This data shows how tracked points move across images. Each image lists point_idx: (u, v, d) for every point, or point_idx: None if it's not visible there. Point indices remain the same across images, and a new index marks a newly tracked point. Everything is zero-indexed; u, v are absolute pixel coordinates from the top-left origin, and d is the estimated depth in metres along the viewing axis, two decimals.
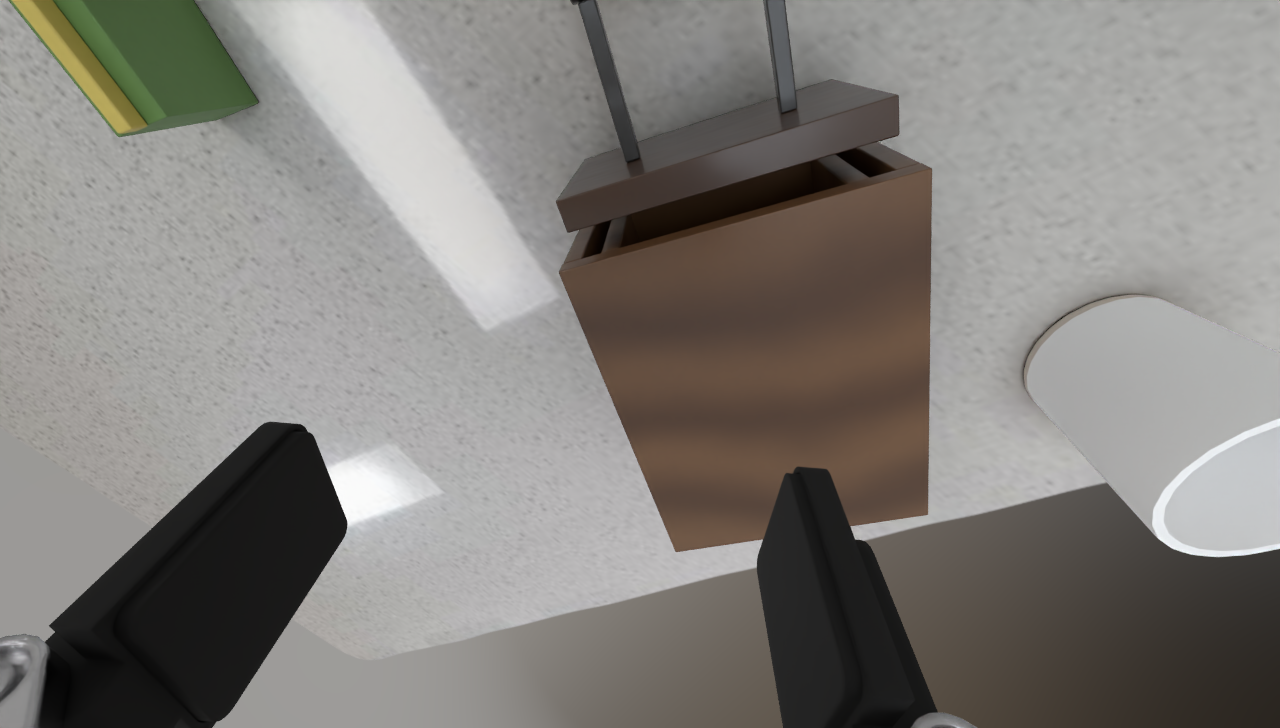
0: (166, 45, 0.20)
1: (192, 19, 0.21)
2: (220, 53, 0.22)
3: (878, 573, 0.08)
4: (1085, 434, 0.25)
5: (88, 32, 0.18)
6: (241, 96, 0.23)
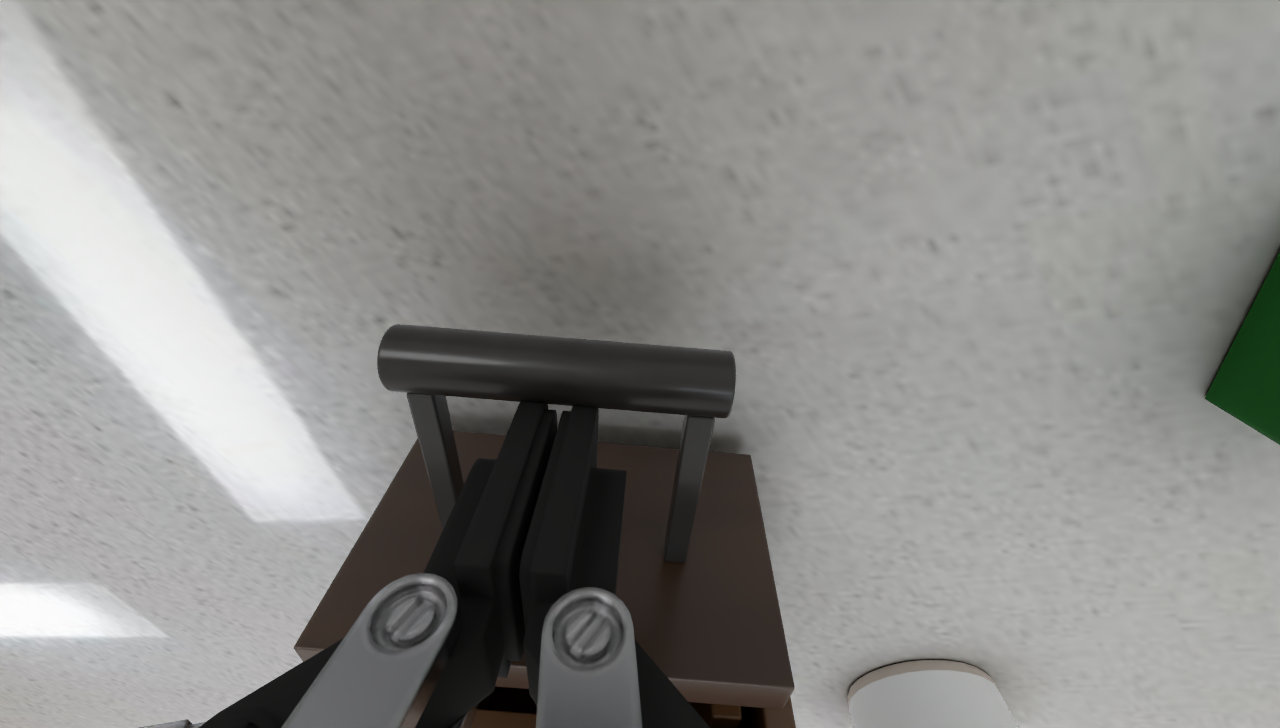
0: None
1: None
2: None
3: (624, 493, 0.09)
4: None
5: None
6: None
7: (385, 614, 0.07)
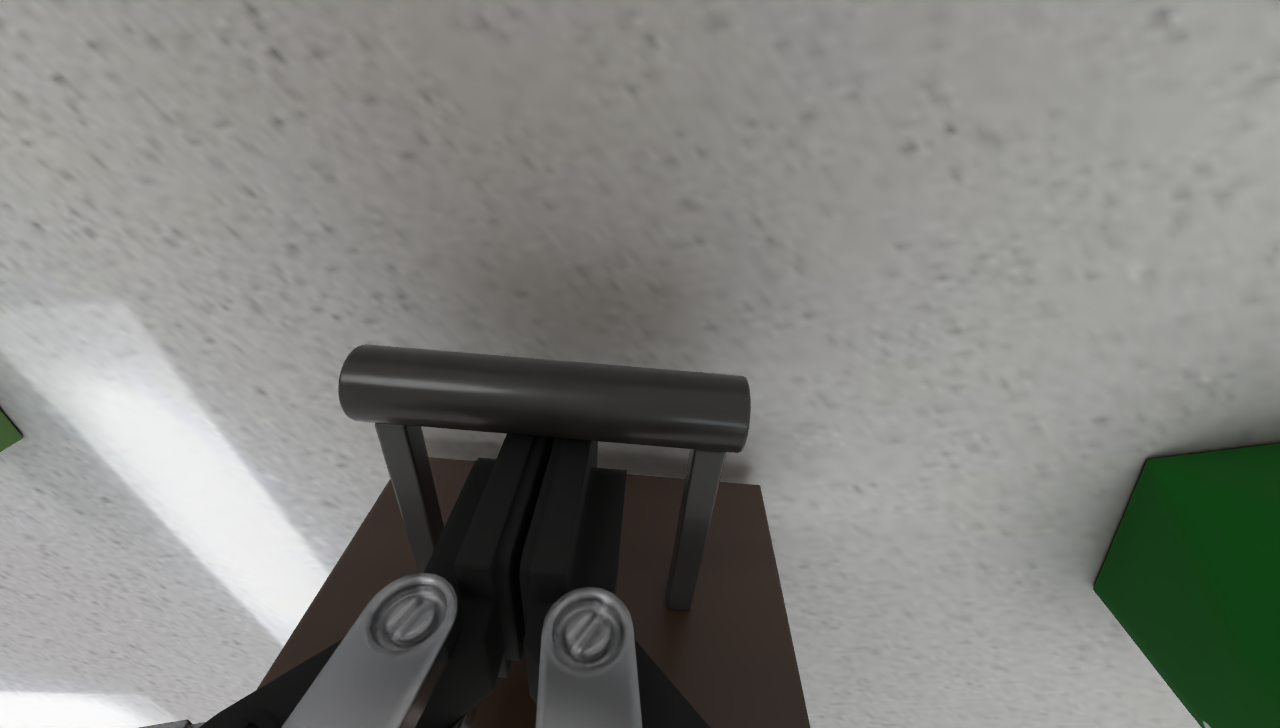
0: None
1: None
2: None
3: (624, 493, 0.09)
4: None
5: None
6: None
7: (385, 614, 0.07)
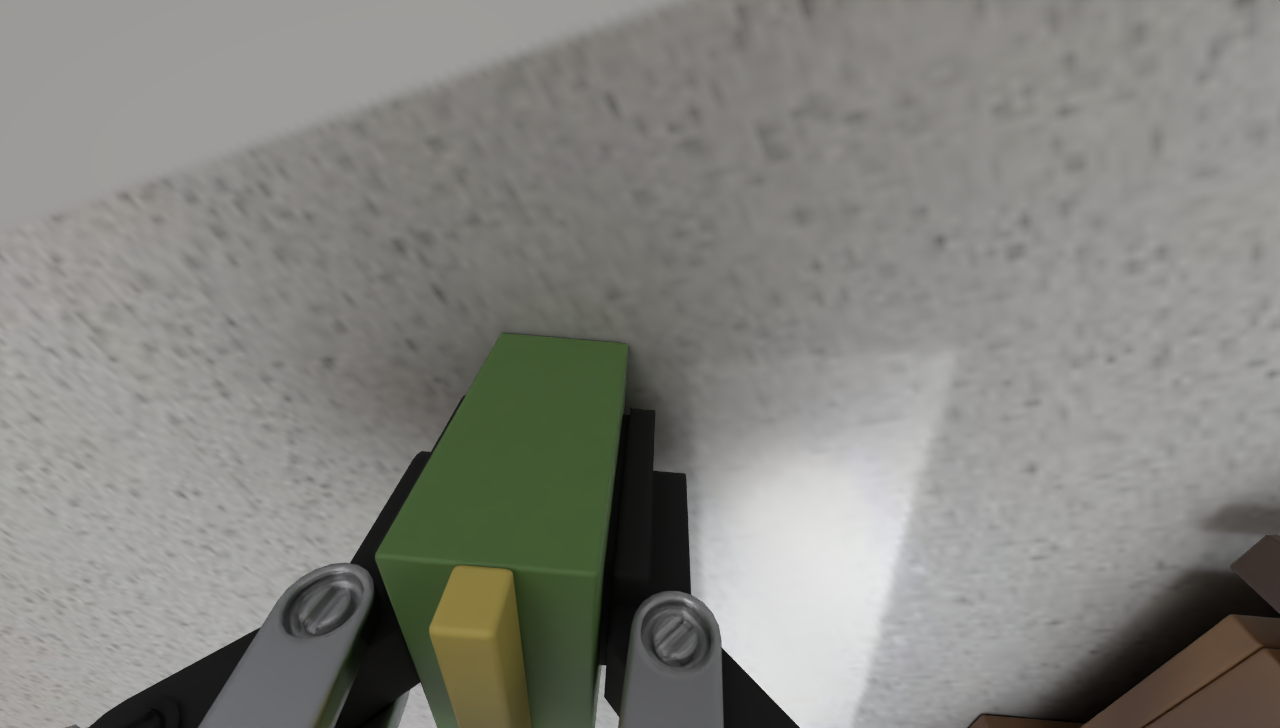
0: None
1: None
2: None
3: (686, 497, 0.09)
4: None
5: (553, 677, 0.07)
6: None
7: (302, 603, 0.07)
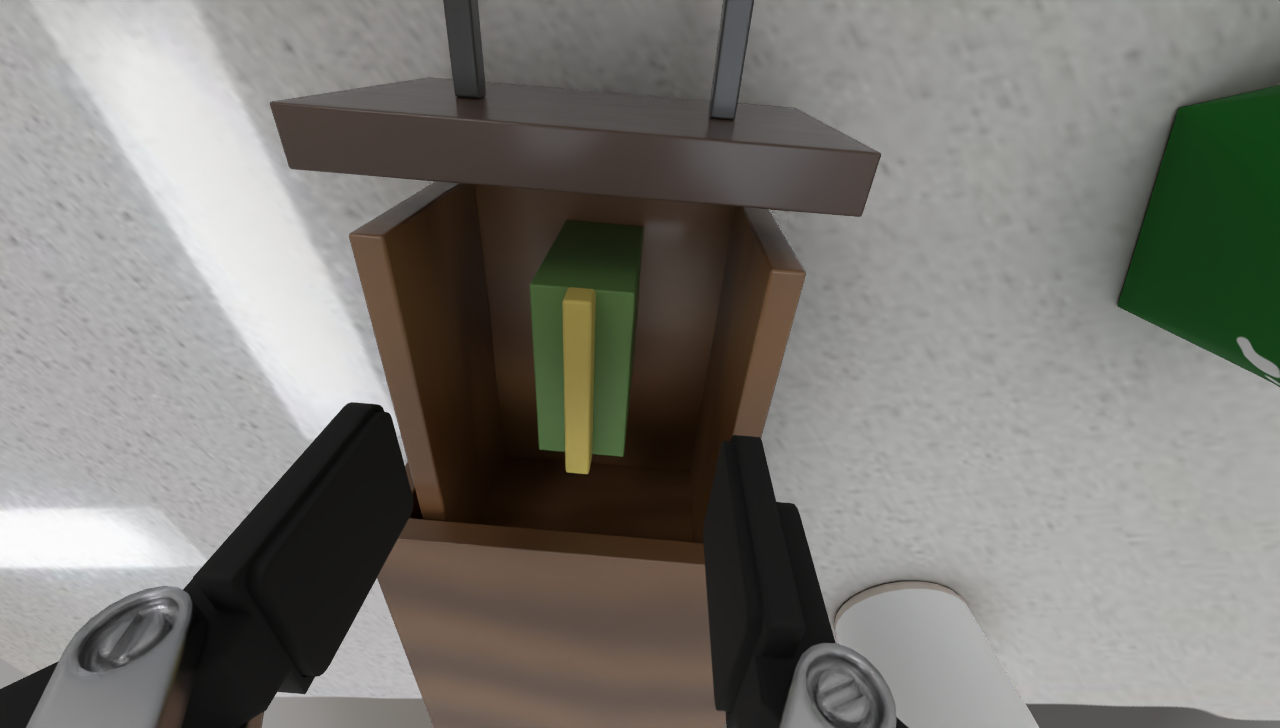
0: None
1: (638, 294, 0.17)
2: (636, 323, 0.18)
3: (802, 530, 0.09)
4: None
5: (608, 374, 0.13)
6: None
7: None
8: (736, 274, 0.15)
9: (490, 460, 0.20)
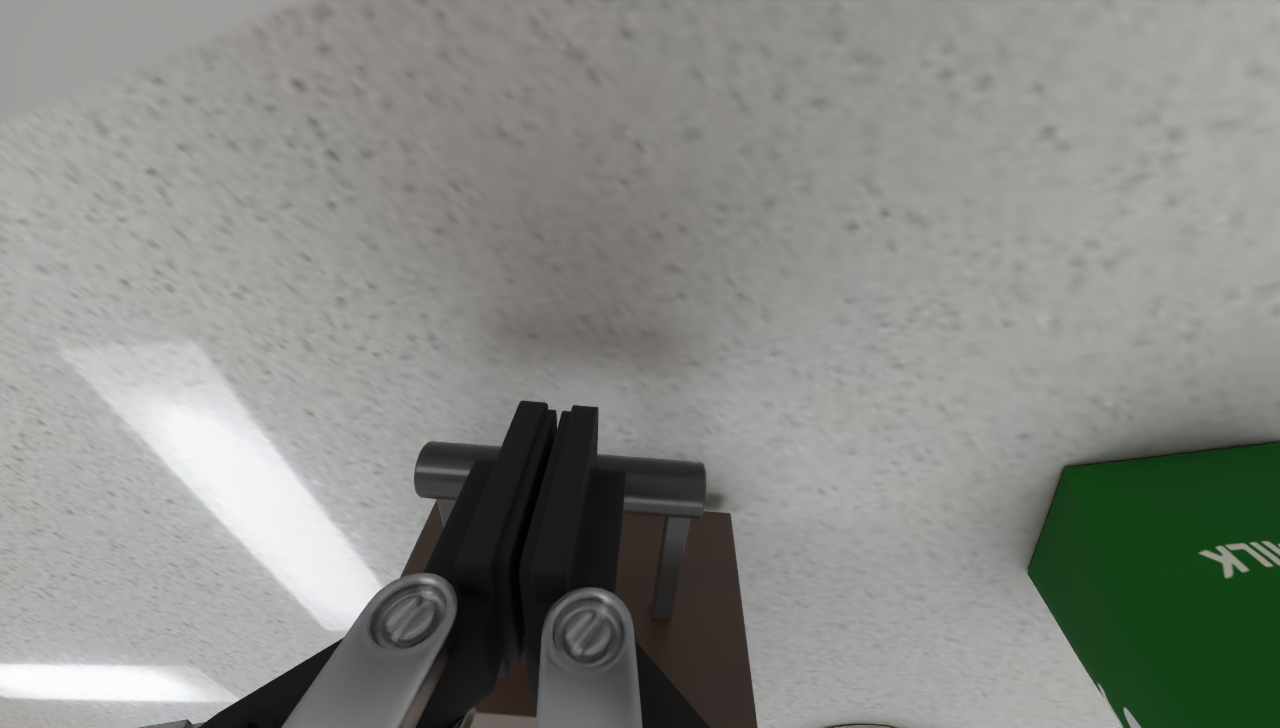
0: None
1: None
2: None
3: (624, 493, 0.09)
4: None
5: None
6: None
7: (385, 614, 0.07)
8: None
9: None
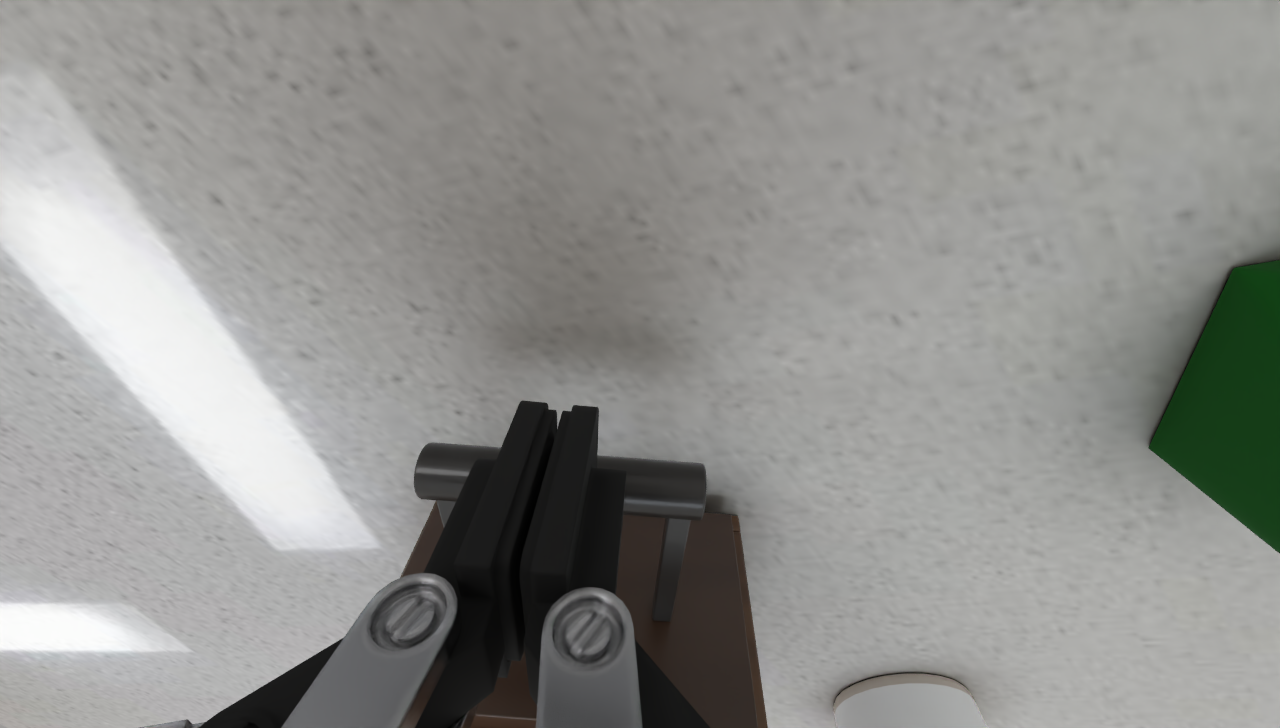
0: None
1: None
2: None
3: (624, 494, 0.09)
4: None
5: None
6: None
7: (385, 614, 0.07)
8: None
9: None
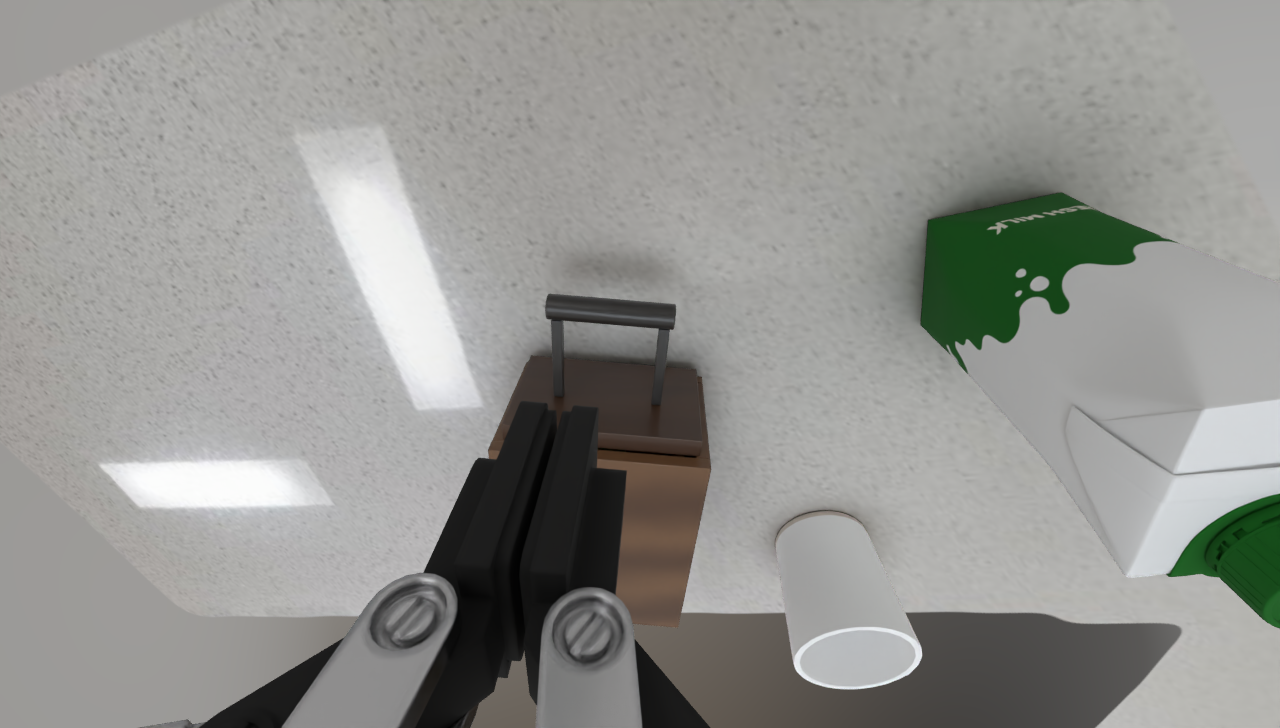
0: None
1: None
2: None
3: (624, 494, 0.09)
4: (786, 595, 0.39)
5: None
6: None
7: (385, 614, 0.07)
8: None
9: None
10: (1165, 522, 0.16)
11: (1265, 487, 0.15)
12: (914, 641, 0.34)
